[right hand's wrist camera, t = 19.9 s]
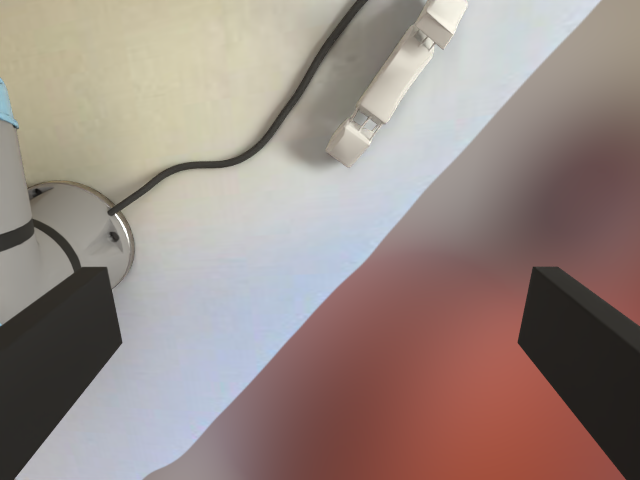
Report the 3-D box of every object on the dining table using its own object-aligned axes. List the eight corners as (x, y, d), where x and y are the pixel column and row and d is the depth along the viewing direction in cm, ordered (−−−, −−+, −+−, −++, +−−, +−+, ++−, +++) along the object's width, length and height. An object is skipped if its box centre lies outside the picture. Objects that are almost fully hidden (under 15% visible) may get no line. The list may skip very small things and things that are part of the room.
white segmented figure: (438, -20, 40) (455, -34, 34) (466, 5, 41) (487, -5, 35) (324, 143, 48) (321, 156, 41) (349, 161, 48) (350, 177, 42)
